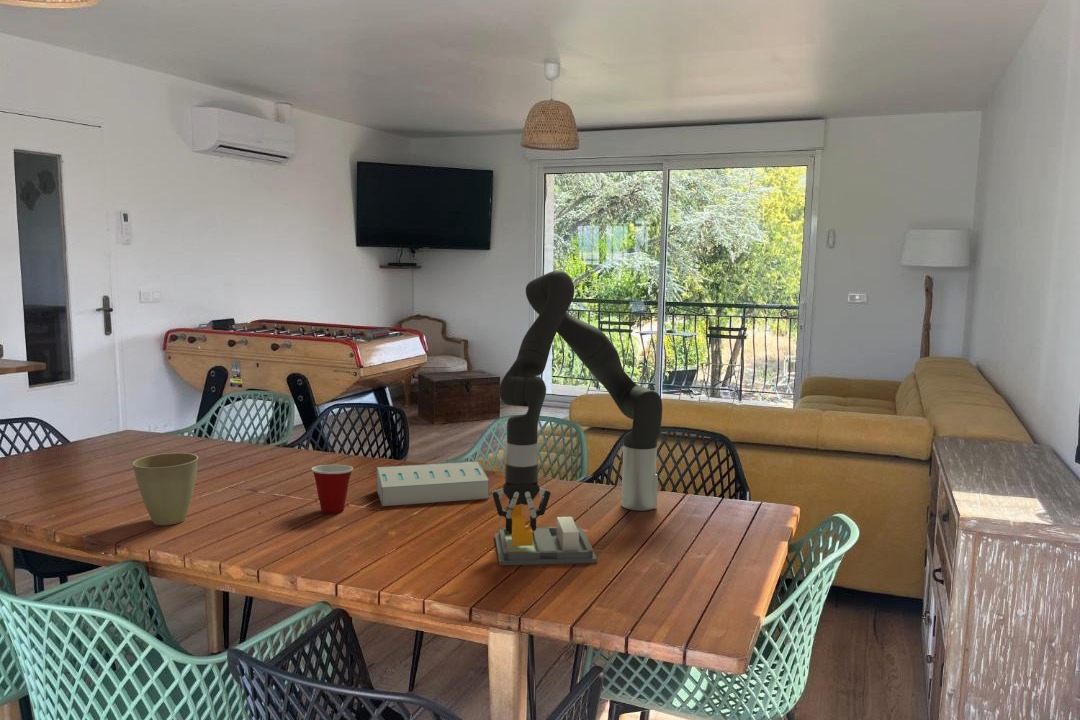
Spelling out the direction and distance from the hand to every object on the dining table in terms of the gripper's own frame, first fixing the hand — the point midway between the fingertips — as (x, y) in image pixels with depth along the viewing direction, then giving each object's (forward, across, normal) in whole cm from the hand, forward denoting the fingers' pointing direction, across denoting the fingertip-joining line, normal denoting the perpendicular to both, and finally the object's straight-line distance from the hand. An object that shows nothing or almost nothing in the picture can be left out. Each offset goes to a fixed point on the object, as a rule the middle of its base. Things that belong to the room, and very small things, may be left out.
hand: (520, 532), depth 183 cm
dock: (+4, -6, 0) cm, 7 cm away
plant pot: (+5, +88, -26) cm, 91 cm away
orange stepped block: (+1, 0, 0) cm, 1 cm away
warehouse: (+5, +22, -45) cm, 50 cm away
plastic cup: (+5, +48, -32) cm, 57 cm away
